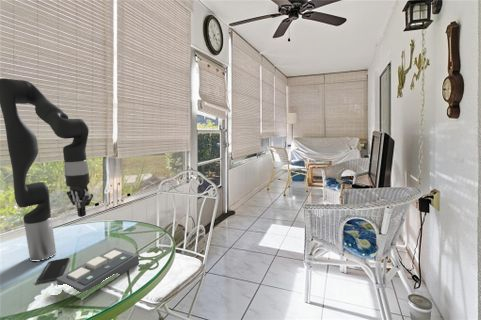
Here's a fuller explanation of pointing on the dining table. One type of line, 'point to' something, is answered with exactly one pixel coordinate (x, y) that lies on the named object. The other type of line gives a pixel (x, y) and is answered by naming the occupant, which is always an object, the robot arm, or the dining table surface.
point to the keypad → (101, 271)
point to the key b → (96, 263)
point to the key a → (78, 274)
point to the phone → (53, 270)
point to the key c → (112, 255)
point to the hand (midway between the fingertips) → (82, 216)
